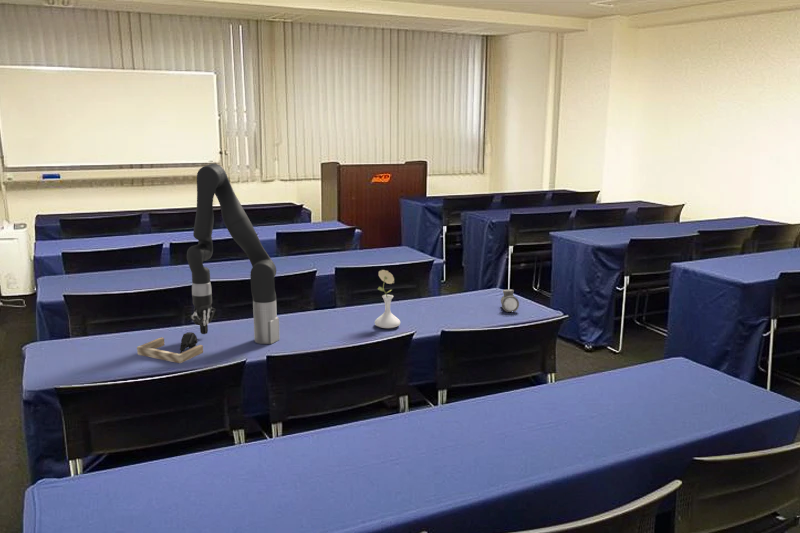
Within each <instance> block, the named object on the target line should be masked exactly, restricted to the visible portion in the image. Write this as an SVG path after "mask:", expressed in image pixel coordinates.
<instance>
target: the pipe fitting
mask: <svg viewBox="0 0 800 533" xmlns="http://www.w3.org/2000/svg"><path fill="white" fill-rule="evenodd" d="M514 291H515V290H514V289H511V288H510V289H504V290H502V293H503V296H502V297H501V298H500V304H501V308H502V309H503V310H504V311H505V312H506V313H508V312H512V311H513V312H512V313H514V311H515V312H516V311H517V310H518V309H519V308H520V302H519V298H517V297H516V296H514Z"/></svg>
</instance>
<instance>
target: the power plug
mask: <svg viewBox="0 0 800 533" xmlns="http://www.w3.org/2000/svg"><path fill="white" fill-rule="evenodd" d="M198 342H199V341H198V337H197V335H196V333H194V332H190V331H189V332H185V333H183V335H182V337H181V340H180V348H179V350H180V352H179V354H180V353H182V352H185V351H186V349H191V348H194V347H196V346H197V344H198Z"/></svg>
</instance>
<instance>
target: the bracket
mask: <svg viewBox="0 0 800 533" xmlns="http://www.w3.org/2000/svg"><path fill="white" fill-rule="evenodd" d="M163 346H165V338H164V337H159V338H156V339H153V340H151V341H148V342H145V343H143V344H141V345H138V346H136V350H137V355H138V356H143V357H149V358H152V359H157V360H162V361H167V362H172V363H175V364H176V363H177V364H182V363H184V362H186V361H189V360H191V359H192V358H194V357H197V356H199V355H201V354H203V353H204V344H203V345H202V344H198V345H196V347H192V348H188V349H187V350H184V351H183V352H182V353H180V352H179V353H177V352H172V351H168V350H162V349H159V348H162V347H163Z"/></svg>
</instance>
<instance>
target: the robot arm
mask: <svg viewBox="0 0 800 533" xmlns="http://www.w3.org/2000/svg"><path fill="white" fill-rule="evenodd" d="M214 196H216V200H218V204H219V208H220V212H221V217H222V220H223V223H224V226H225V227H226V229H227V231H228V233H229V235H230V236H231V238H232V239H233V241H234V242H235V243H236V244H237V245H238V246H239V247H240V248H241V249H242V250H243V252H244V253H245V254H246V256H247V258H248V260H249V263H250V264H251V269H250V290H251V296H252V308H253V309H252V312H253V315H252V316H253V336H254V337H253V338H254V343H257V344H259V345H267V344H269V345H271V344H274V343H276V342H278V341H280V339H281V337H280V318H279V317H278V315H277V312H278V311H277V294H276V288H275V277H276V275H277V267H276V264H275V262H274V261H273V260H272V258H271V257H270V255H269V254H268V252H267V251H266V250H265V248H264V247H263V243H262V242H261V240H260V238H259V236H258V234H257V232H256V231H255V227H254V225H253V224H252V221H250V218H249V217H248V215H247V213H246V212H245V209H244V208H243V205H242V204H241V202H240V201H239V198H238V197H237V195H236V194H235V190H233V187H232V184H231V182H230V179H229V177H228V175H227V172H226V171H225V169H224V168H223V166H222V165H220V164H218V163H210V164H207V165H203V166H202V167H200V168H199V170H198V171H197V174H196V213H195V219H194V226H193V238H194V239H195V240H198V241H197V242H198V244H195V245H191V246H189V248H188V249H187V251H186V260H187V264H188V266H189V269H190V272H191V281H192V282H191V296H192V297H191V298H192V305H193V306H194V309H193V314H191V315H190V316H189V318H190V319H191V320H192V321H193V323H194V324H195V325H196V326H199V330H200V334H201V335H206V334H208V331H209V329H208V327H209V326H208V325H209V323H211V322H212V320H213V318H214V315H215V312H216V311H217V310H216V308H214V307H212V304H213V296H212V295H213V293H212V290H213V289H212V284H211V272H210V268H209V267H207V266H204V264H203V263H204V262H205V261H208V260H210V259H211V257H212V256H213V252H214V246H213V236H212V235H213V229H214V221H215V217H214V215H215V214H214V208H213V207H214V206H213V204H214V203H213V202H214Z"/></svg>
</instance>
